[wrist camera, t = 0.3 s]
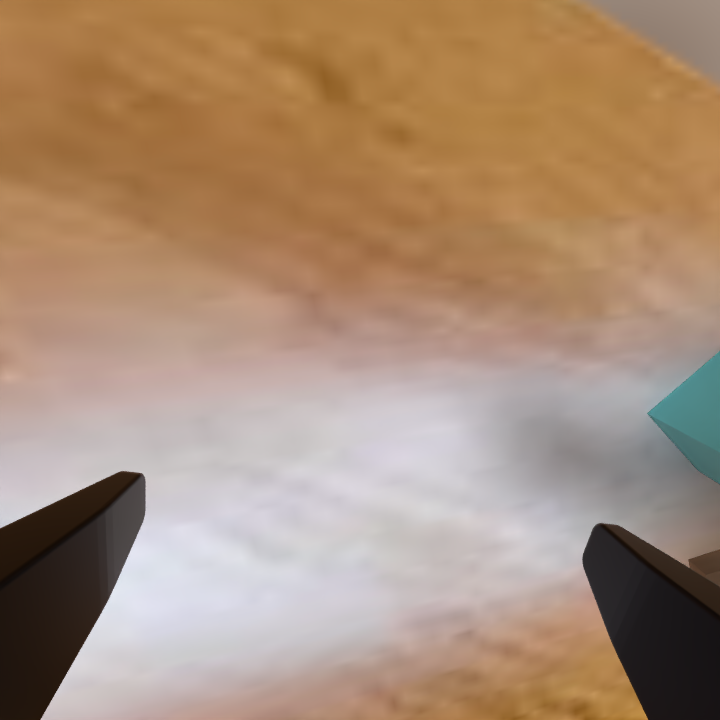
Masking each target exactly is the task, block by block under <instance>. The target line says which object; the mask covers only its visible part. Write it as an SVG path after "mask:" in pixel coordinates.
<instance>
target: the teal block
mask: <svg viewBox="0 0 720 720" xmlns="http://www.w3.org/2000/svg"><path fill="white" fill-rule="evenodd" d="M647 414H648V415H649V416H650V417H651V418H652V419H653V421H654V422H655V423H656V424H657V425H658V426H659V427H660V428H661V430H662V431H663V432H664V433H665V434H666V435H667V436H668V437H669V439H670V440H671V441H672V442H673V443H674V444H675V445H676V446H677V447H678V449H679V450H680V451H681V452H682V453H683V454H684V455H685V456H686V458H687V459H688V460H689V461H690V462H691V463H692V464H693V465H694V467H695V468H696V469H697V470H698V471H699V472H701V473H702V474H704V475H706V476H707V477H709V478H711V479H712V480H714V481H715V482H717V483H719V484H720V351H719V352H718V353H717V354H716V355H715V356H714V357H712V358H711V359H710V360H709V361H708V362H707V363H705V364H704V365H703V366H702V367H701V368H700V369H698V370H697V371H696V372H695V373H694V374H693V375H691V376H690V377H689V378H688V379H687V380H686V381H684V382H683V383H682V384H681V385H680V386H679V387H677V388H676V389H675V390H674V391H673V392H672V393H670V394H669V395H668V396H667V397H666V398H665V399H664V400H662V401H661V402H660V403H659V404H658V405H657V406H655V407H654V408H653V409H652V410H651V411H650V412H648V413H647Z"/></svg>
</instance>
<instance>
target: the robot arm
mask: <svg viewBox="0 0 720 720" xmlns="http://www.w3.org/2000/svg"><path fill="white" fill-rule="evenodd" d="M144 516H145V477H144V475H143V474H142V473H136V472H127V471H121V472H118V473H116V474H114V475H112V476H109V477H107V478H105V479H103V480H101V481H99V482H97V483H95V484H93V485H91V486H88V487H86V488H84V489H82V490H80V491H78V492H76V493H74V494H72V495H70V496H67V497H65V498H63V499H61V500H59V501H57V502H55V503H53V504H51V505H48V506H46V507H44V508H42V509H40V510H38V511H36V512H34V513H32V514H30V515H27V516H25V517H23V518H21V519H19V520H17V521H15V522H13V523H11V524H9V525H6V526H4V527H2V528H0V720H40V719H41V718H42V716H43V714H44V712H45V711H46V709H47V707H48V705H49V704H50V702H51V700H52V698H53V697H54V695H55V693H56V691H57V690H58V688H59V686H60V684H61V683H62V681H63V679H64V677H65V676H66V674H67V672H68V670H69V669H70V667H71V665H72V663H73V662H74V660H75V658H76V656H77V655H78V653H79V651H80V649H81V648H82V646H83V644H84V642H85V641H86V639H87V637H88V635H89V634H90V632H91V630H92V628H93V627H94V625H95V623H96V621H97V620H98V618H99V616H100V614H101V613H102V611H103V609H104V607H105V605H106V603H107V601H108V600H109V597H110V595H111V593H112V591H113V589H114V587H115V584H116V582H117V580H118V578H119V575H120V573H121V571H122V568H123V566H124V564H125V562H126V559H127V557H128V555H129V553H130V550H131V548H132V546H133V543H134V541H135V539H136V537H137V534H138V532H139V530H140V527H141V525H142V523H143V520H144ZM582 560H583V567H584V570H585V573H586V576H587V578H588V581H589V584H590V586H591V589H592V592H593V594H594V597H595V600H596V602H597V605H598V608H599V610H600V613H601V616H602V618H603V621H604V624H605V626H606V629H607V632H608V634H609V637H610V639H611V642H612V644H613V646H614V648H615V651H616V653H617V655H618V657H619V659H620V661H621V664H622V666H623V668H624V670H625V672H626V674H627V676H628V678H629V680H630V682H631V684H632V687H633V689H634V691H635V693H636V695H637V697H638V699H639V701H640V703H641V705H642V708H643V710H644V712H645V714H646V716H647V718H648V720H720V586H718V585H717V584H715V583H713V582H712V581H710V580H708V579H707V578H705V577H703V576H702V575H700V574H698V573H697V572H695V571H693V570H692V569H690V568H688V567H687V566H685V565H684V564H682V563H680V562H679V561H677V560H675V559H674V558H672V557H670V556H669V555H667V554H665V553H664V552H662V551H660V550H659V549H657V548H655V547H654V546H652V545H650V544H649V543H647V542H645V541H644V540H642V539H640V538H639V537H637V536H635V535H634V534H632V533H631V532H629V531H627V530H626V529H624V528H622V527H620V526H618V525H614V524H604V523H599V524H597V525H595V526H594V528H593V530H592V532H591V535H590V537H589V540H588V543H587V545H586V548H585V550H584V553H583V558H582Z"/></svg>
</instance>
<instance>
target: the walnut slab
mask: <svg viewBox="0 0 720 720" xmlns="http://www.w3.org/2000/svg"><path fill="white" fill-rule="evenodd" d="M689 565H690V569H692V570H693V571H695V572H697V573H698V574H700V575H702V576H703V577H705V578H707V579H708V580H710V581H712V582H713V583H715V584H717V585H718V586H720V550H717V551H714V552H710V553H707V554H704V555H701V556H698V557H695V558H692V559H689Z"/></svg>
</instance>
